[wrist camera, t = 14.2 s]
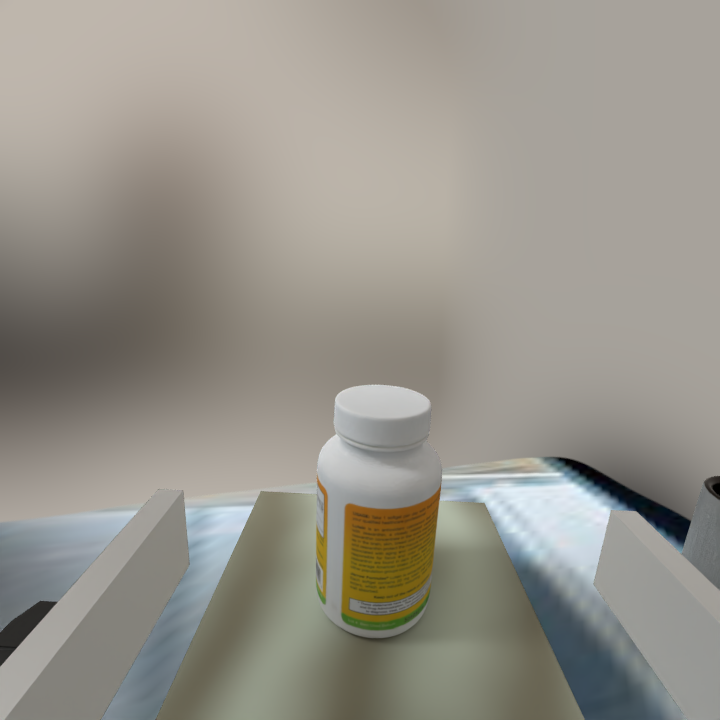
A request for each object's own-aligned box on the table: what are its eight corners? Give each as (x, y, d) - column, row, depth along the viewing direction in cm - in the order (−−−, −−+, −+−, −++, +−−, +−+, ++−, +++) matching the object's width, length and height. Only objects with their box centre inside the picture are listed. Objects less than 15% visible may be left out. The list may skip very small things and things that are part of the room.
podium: (146, 894, 13) (127, 779, 12) (262, 561, 27) (260, 491, 26) (589, 923, 13) (627, 810, 12) (474, 573, 27) (484, 503, 26)
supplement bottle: (450, 588, 19) (473, 400, 16) (380, 671, 15) (396, 441, 13) (366, 534, 22) (375, 372, 20) (291, 590, 18) (290, 397, 16)
